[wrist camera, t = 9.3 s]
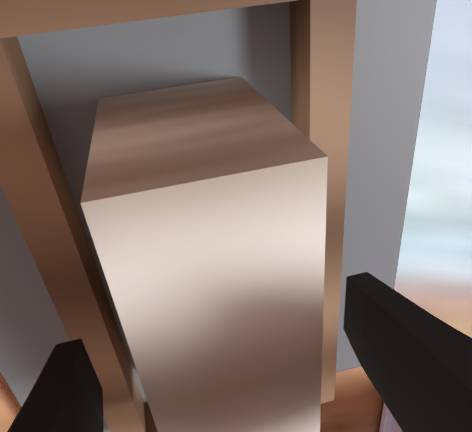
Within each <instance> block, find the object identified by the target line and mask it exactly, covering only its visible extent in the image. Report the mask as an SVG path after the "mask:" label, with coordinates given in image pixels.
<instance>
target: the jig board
mask: <svg viewBox="0 0 472 432" xmlns="http://www.w3.org/2000/svg"><path fill="white" fill-rule="evenodd" d="M436 2H437V0H0V373H1V374H2V376H3V377H4V379H5V381H6V382H7V384H8V386H9V387H10V389H11V391H12V392H13V394H14V395H15V397H16V399H17V400H18V402H19V404H20V405H21V407H22V406H23V404H24V402H25V400H26V399H27V397H28V395H29V393H30V391H31V390H32V388H33V386H34V384H35V382H36V380H37V378H38V377H39V375H40V373H41V371H42V369H43V367H44V365H45V363H46V361H47V359H48V358H49V356H50V354H51V352H52V350H53V348H54V347H55V345H56V344H59V343H63V342H68V341H72V340H76V339H82V341H83V344H84V346H85V349H86V351H87V353H88V356H89V358H90V360H91V363H92V365H93V368H94V370H95V372H96V375H97V377H98V380H99V382H100V384H101V387H102V389H103V424H104V430H103V432H158V431H157V428H156V425H155V422H154V419H153V416H152V413H151V410H150V407H149V404H148V402H147V399H146V396H145V393H144V390H143V387H142V384H141V381H140V378H139V375H138V372H137V369H136V366H135V363H134V360H133V357H132V354H131V351H130V348H129V345H128V342H127V340H126V337H125V334H124V331H123V328H122V325H121V322H120V319H119V316H118V313H117V310H116V307H115V304H114V301H113V298H112V295H111V292H110V289H109V286H108V283H107V280H106V278H105V275H104V272H103V269H102V266H101V263H100V260H99V257H98V254H97V251H96V248H95V245H94V242H93V239H92V236H91V233H90V230H89V227H88V224H87V221H86V218H85V216H84V213H83V210H82V207H81V204H80V202H81V196H82V191H83V185H84V180H85V174H86V168H87V163H88V157H89V152H90V146H91V140H92V135H93V129H94V124H95V118H96V113H97V107H98V101H99V98H105V97H111V96H118V95H124V94H131V93H137V92H144V91H150V90H157V89H163V88H170V87H177V86H183V85H190V84H196V83H203V82H209V81H216V80H222V79H229V78H235V77H242V78H243V79H244V80H245V81H247V82H248V83H249V84H250V85H251V86H252V87H253V88H254V89H255V90H256V91H257V92H258V93H260V94H261V95H262V96H263V97H264V98H265V99H266V100H267V101H268V102H269V103H270V104H271V105H273V106H274V107H275V108H276V109H277V110H278V111H279V112H280V113H281V114H282V115H283V116H284V117H286V118H287V119H288V120H289V121H290V122H291V123H292V124H293V125H294V126H295V127H296V128H297V129H299V130H300V131H301V132H302V133H303V134H304V135H305V136H306V137H307V138H308V139H309V140H311V141H312V142H313V143H314V144H315V145H316V146H317V147H318V148H319V149H320V150H321V151H322V152H324V153H325V154H326V155H327V156H328V167H327V202H326V237H325V272H324V307H323V342H322V377H321V404H322V403H326V402H329V401H333V400H334V395H335V377H336V373H337V372H340V371H344V370H348V369H351V368H355V367H359V366H361V364H360V363H359V361H358V359H357V357H356V355H355V353H354V351H353V349H352V347H351V344H350V342H349V340H348V338H347V336H346V333H345V331H344V329H343V325H344V309H345V293H346V278H347V276H351V275H355V274H360V273H364V272H368V273H370V274H371V275H373V276H374V277H376V278H377V279H379V280H380V281H382V282H383V283H385V284H386V285H388V286H389V287H391V288H392V289H394V285H395V278H396V272H397V265H398V258H399V251H400V245H401V238H402V231H403V224H404V218H405V211H406V204H407V197H408V191H409V184H410V177H411V170H412V164H413V157H414V150H415V143H416V137H417V130H418V123H419V116H420V110H421V103H422V96H423V89H424V83H425V76H426V69H427V62H428V56H429V49H430V42H431V35H432V29H433V22H434V15H435V8H436Z"/></svg>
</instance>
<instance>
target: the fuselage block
mask: <svg viewBox="0 0 472 432" xmlns="http://www.w3.org/2000/svg"><path fill="white" fill-rule="evenodd" d="M327 167H328V156H327V155H326V154H325V153H324V152H322V151H321V150H320V149H319V148H318V147H317V146H316V145H315V144H314V143H313V142H312V141H311V140H309V139H308V138H307V137H306V136H305V135H304V134H303V133H302V132H301V131H300V130H299V129H297V128H296V127H295V126H294V125H293V124H292V123H291V122H290V121H289V120H288V119H287V118H286V117H284V116H283V115H282V114H281V113H280V112H279V111H278V110H277V109H276V108H275V107H274V106H273V105H271V104H270V103H269V102H268V101H267V100H266V99H265V98H264V97H263V96H262V95H261V94H260V93H258V92H257V91H256V90H255V89H254V88H253V87H252V86H251V85H250V84H249V83H248V82H247V81H245V80H244V79H243V78H242V77H235V78H229V79H222V80H216V81H209V82H203V83H196V84H190V85H183V86H177V87H170V88H163V89H157V90H150V91H144V92H137V93H131V94H124V95H118V96H111V97H105V98H99V101H98V107H97V113H96V118H95V124H94V129H93V135H92V140H91V146H90V152H89V157H88V163H87V168H86V174H85V180H84V185H83V191H82V196H81V202H80V204H81V207H82V210H83V213H84V216H85V218H86V221H87V224H88V227H89V230H90V233H91V236H92V239H93V242H94V245H95V248H96V251H97V254H98V257H99V260H100V263H101V266H102V269H103V272H104V275H105V278H106V280H107V283H108V286H109V289H110V292H111V295H112V298H113V301H114V304H115V307H116V310H117V313H118V316H119V319H120V322H121V325H122V328H123V331H124V334H125V337H126V340H127V342H128V345H129V348H130V351H131V354H132V357H133V360H134V363H135V366H136V369H137V372H138V375H139V378H140V381H141V384H142V387H143V390H144V393H145V396H146V399H147V402H148V404H149V407H150V410H151V413H152V416H153V419H154V422H155V425H156V428H157V431H158V432H320V413H321V377H322V342H323V307H324V272H325V237H326V202H327Z"/></svg>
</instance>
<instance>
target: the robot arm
mask: <svg viewBox="0 0 472 432" xmlns="http://www.w3.org/2000/svg"><path fill="white" fill-rule="evenodd" d="M343 329H344V331H345V333H346V336H347V338H348V340H349V342H350V344H351V347H352V349H353V351H354V353H355V355H356V357H357V359H358V361H359V363H360V364H361V366H362V368H363V369H364V371H365V372H366V374H367V376H368V377H369V379H370V380H371V382H372V384H373V385H374V387H375V389H376V390H377V392H378V393H379V395H380V396H381V398H382V400H383V401H384V405H383V412H382V418H381V424H380V430H379V432H472V338H470V337H469V336H467V335H465V334H463V333H462V332H460V331H458V330H456V329H455V328H453V327H451V326H450V325H448V324H446V323H445V322H443V321H441V320H440V319H438V318H436V317H435V316H433V315H432V314H430V313H428V312H427V311H425V310H424V309H422V308H421V307H419V306H418V305H416V304H415V303H413V302H411V301H410V300H408V299H407V298H405V297H404V296H402V295H401V294H399V293H398V292H396V291H395V290H394V289H392V288H391V287H389V286H388V285H386V284H385V283H383V282H382V281H380V280H379V279H377V278H376V277H374V276H373V275H371V274H370V273H368V272H364V273H360V274H355V275H351V276H347V278H346V293H345V309H344V325H343ZM103 430H104V424H103V389H102V387H101V384H100V382H99V380H98V377H97V375H96V372H95V370H94V368H93V365H92V363H91V360H90V358H89V356H88V353H87V351H86V349H85V346H84V344H83V341H82V339H76V340H72V341H68V342H63V343H59V344H56V345H55V347H54V348H53V350H52V352H51V354H50V356H49V358H48V359H47V361H46V363H45V365H44V367H43V369H42V371H41V373H40V375H39V377H38V378H37V380H36V382H35V384H34V386H33V388H32V390H31V391H30V393H29V395H28V397H27V399H26V400H25V402H24V404H23V406H22V407H21V409H20V411H19V413H18V414H17V416H16V418H15V420H14V421H13V423H12V425H11V427H10V428H9V430H8V432H103Z"/></svg>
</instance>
